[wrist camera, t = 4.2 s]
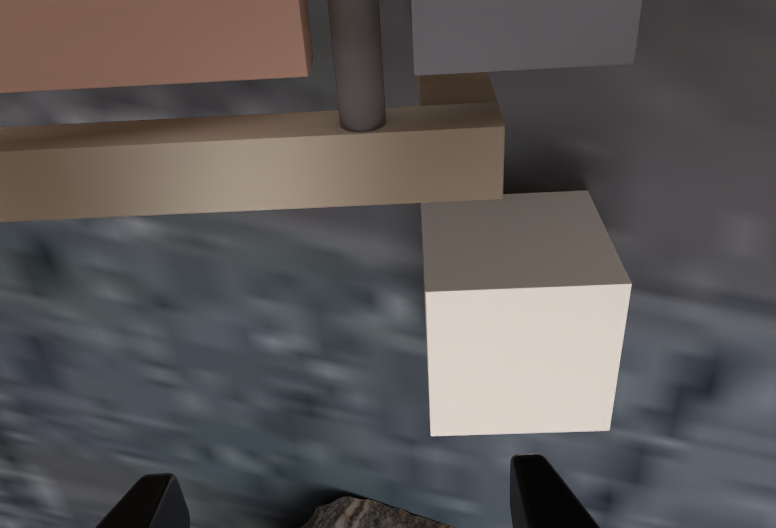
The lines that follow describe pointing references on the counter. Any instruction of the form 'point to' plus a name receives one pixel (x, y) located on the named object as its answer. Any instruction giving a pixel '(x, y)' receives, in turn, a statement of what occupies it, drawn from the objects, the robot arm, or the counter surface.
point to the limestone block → (521, 314)
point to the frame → (270, 149)
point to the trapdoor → (289, 39)
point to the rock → (365, 516)
